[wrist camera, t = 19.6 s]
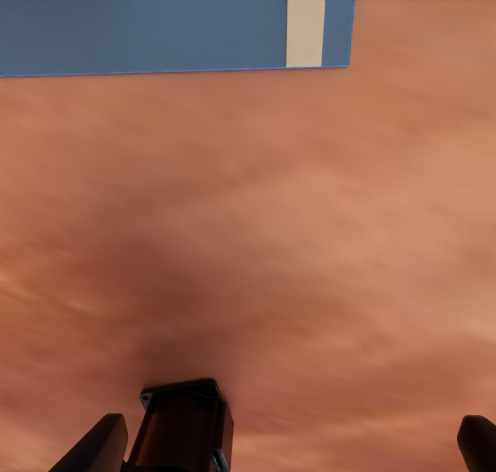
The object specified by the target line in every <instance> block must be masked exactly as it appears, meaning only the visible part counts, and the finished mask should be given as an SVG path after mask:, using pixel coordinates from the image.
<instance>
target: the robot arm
mask: <svg viewBox="0 0 496 472" xmlns="http://www.w3.org/2000/svg"><path fill="white" fill-rule="evenodd" d="M139 398H140V400H141V402H142V404H143V406H144V408H145V410H146V413H145V415H144V418H143V421H142V424H141V426H140V429H139V432H138V434H137V437H136V440H135V442H134V445H133V448H132V451H131V453H130V456H129V459H128V461H127V462H124V461H125V460H123V458H124V454H125V450H126V447H127V442H128V432H127V428H126V424H125V420H124V416H123V415H122V414H120V413H109V414H107V415H105V416H104V417H103V418H102V419H101V420H100V421H99V422H98V423H97V424H96V425H95V426H94V427H93V428H92V429H91V430H90V431H89V432H88V433H87V434H86V435H85V436H84V437H83V438H82V439H81V440H80V441H79V442H78V443H77V444H76V445H75V446H74V447H73V448H72V449H71V450H70V451H69V452H68V453H67V454H66V455H64V456H63V457H62V458H61V459H60V460H59V461H58V462H57V463H56V464H55V465H54V466H53V467H52V468H51V469H50V470H49V471H48V472H230V468H231V454H232V440H233V431H234V430H233V426H234V422H233V419H232V416H231V413H230V411H229V408H228V405H227V403H226V402H225V401H224V400H223V399H222V396H221V394H220V391H219V388H218V385H217V383H216V381H215V380H212V379H207V380H201V381H195V382H189V383H183V384H176V385H170V386H164V387H158V388H152V389H146V390H143V391H142V392H141V394H140V397H139ZM457 442H458V446H459V449H460V451H461V453H462V456H463V458H464V460H465V463H466V465H467V467H468V470H469V472H496V425H495V424H493V423H492V422H491V421H489V420H488V419H486V418H485V417H483V416H480V415H466V416H464V418H463V420H462V423H461V426H460V429H459V432H458V435H457Z"/></svg>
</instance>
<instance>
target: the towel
mask: <svg viewBox="0 0 496 472" xmlns="http://www.w3.org/2000/svg"><path fill="white" fill-rule="evenodd" d="M354 9H355V0H0V77H28V76H61V75H95V74H128V73H162V72H195V71H229V70H262V69H296V68H329V67H347V66H349V64H350V54H351V43H352V32H353V20H354Z"/></svg>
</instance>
